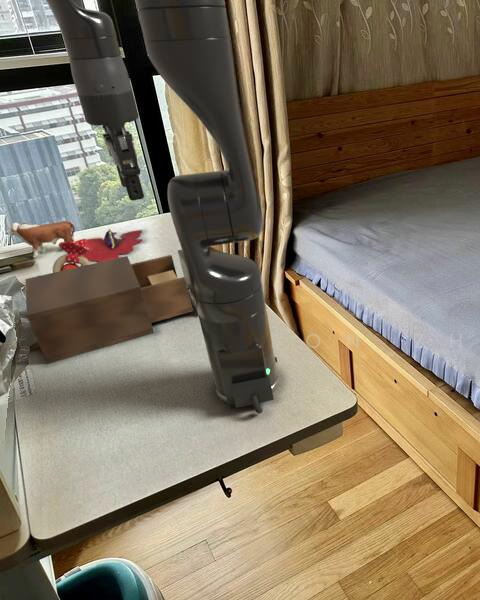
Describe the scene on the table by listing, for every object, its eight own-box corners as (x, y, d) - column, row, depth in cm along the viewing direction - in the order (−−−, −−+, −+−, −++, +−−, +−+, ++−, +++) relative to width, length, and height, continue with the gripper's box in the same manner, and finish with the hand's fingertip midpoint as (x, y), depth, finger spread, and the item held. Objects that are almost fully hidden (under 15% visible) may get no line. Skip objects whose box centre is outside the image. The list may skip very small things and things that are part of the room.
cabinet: (140, 298, 108) (127, 255, 103) (154, 332, 97) (140, 286, 92) (43, 323, 101) (25, 278, 96) (47, 363, 90) (26, 315, 85)
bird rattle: (75, 306, 110) (114, 281, 111) (32, 265, 104) (74, 239, 105) (77, 292, 115) (115, 269, 116) (36, 253, 109) (76, 228, 110)
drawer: (222, 274, 115) (215, 241, 111) (242, 301, 104) (235, 266, 101) (109, 303, 105) (97, 268, 101) (118, 336, 95) (106, 299, 91)
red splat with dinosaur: (146, 268, 127) (143, 251, 124) (76, 277, 121) (70, 259, 119) (142, 231, 140) (138, 215, 137) (78, 238, 134) (73, 221, 131)
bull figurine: (20, 253, 128) (7, 221, 124) (82, 245, 131) (71, 213, 127) (14, 261, 125) (1, 228, 120) (79, 252, 128) (67, 220, 124)
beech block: (158, 307, 101) (152, 285, 98) (153, 297, 104) (147, 276, 102) (183, 300, 103) (178, 279, 100) (178, 290, 106) (172, 269, 104)
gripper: (138, 92, 79) (165, 199, 87) (124, 81, 90) (149, 178, 98) (81, 98, 76) (114, 209, 84) (73, 86, 86) (103, 185, 94)
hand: (133, 192), depth 91 cm, fingers open, 8 cm apart
